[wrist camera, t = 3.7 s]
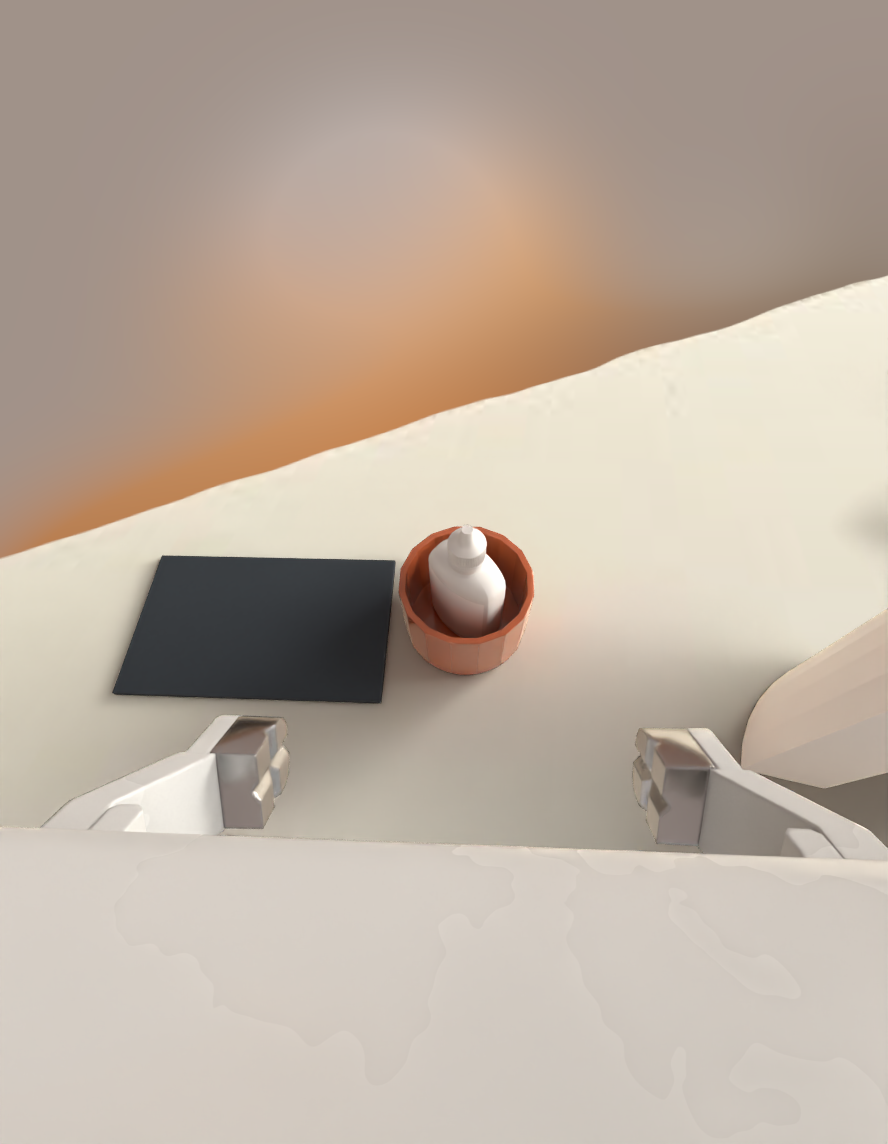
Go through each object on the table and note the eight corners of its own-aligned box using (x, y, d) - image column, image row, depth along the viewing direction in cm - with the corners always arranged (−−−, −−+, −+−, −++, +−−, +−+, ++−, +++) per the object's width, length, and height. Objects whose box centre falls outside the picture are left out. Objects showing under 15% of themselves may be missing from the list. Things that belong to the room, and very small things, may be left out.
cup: (402, 673, 40) (393, 642, 35) (411, 566, 45) (404, 525, 39) (526, 676, 39) (536, 646, 34) (522, 569, 44) (531, 527, 39)
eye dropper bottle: (450, 657, 40) (447, 579, 30) (428, 594, 43) (417, 503, 32) (504, 639, 41) (520, 557, 30) (479, 579, 43) (485, 484, 33)
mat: (114, 694, 40) (111, 692, 39) (164, 557, 46) (161, 555, 45) (381, 703, 39) (380, 701, 38) (395, 562, 45) (395, 560, 44)
